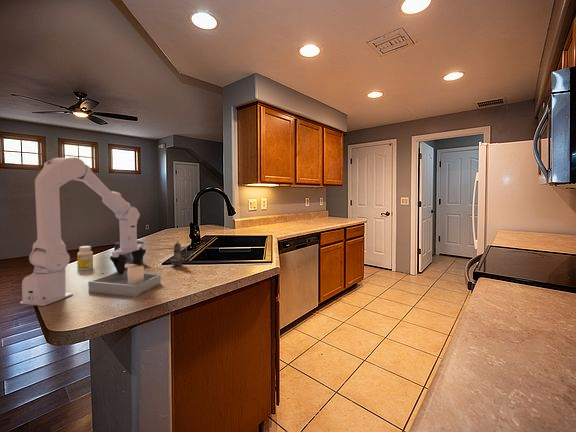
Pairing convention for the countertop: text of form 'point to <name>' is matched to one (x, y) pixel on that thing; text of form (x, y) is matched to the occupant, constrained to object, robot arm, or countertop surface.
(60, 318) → the countertop surface
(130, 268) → the beige round piece
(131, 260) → the small box
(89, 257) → the supplement bottle
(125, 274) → the tote
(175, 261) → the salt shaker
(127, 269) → the walnut cube
